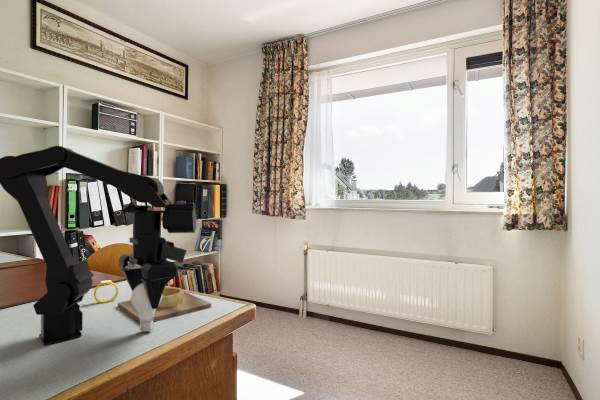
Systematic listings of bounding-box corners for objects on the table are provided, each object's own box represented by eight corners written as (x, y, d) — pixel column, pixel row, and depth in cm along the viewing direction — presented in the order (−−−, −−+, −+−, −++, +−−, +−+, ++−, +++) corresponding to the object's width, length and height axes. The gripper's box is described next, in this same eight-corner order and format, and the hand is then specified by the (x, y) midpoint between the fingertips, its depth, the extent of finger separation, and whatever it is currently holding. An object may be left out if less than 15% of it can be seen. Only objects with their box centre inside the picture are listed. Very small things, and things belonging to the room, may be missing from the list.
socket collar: (153, 311, 83) (153, 299, 83) (139, 302, 90) (139, 291, 90) (189, 303, 90) (189, 292, 90) (173, 295, 97) (174, 285, 97)
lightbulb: (124, 334, 72) (124, 283, 72) (149, 324, 77) (149, 277, 77) (143, 340, 69) (143, 287, 69) (168, 329, 74) (168, 280, 74)
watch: (94, 305, 91) (93, 284, 91) (94, 303, 93) (92, 282, 93) (119, 300, 95) (117, 280, 94) (117, 298, 97) (116, 278, 97)
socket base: (142, 324, 77) (142, 320, 77) (117, 306, 90) (117, 302, 90) (211, 306, 90) (211, 303, 90) (181, 293, 103) (181, 290, 103)
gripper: (201, 234, 72) (200, 305, 72) (165, 228, 85) (164, 288, 85) (149, 238, 64) (148, 318, 64) (118, 231, 77) (117, 297, 77)
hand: (146, 303), depth 73 cm, fingers open, 9 cm apart
